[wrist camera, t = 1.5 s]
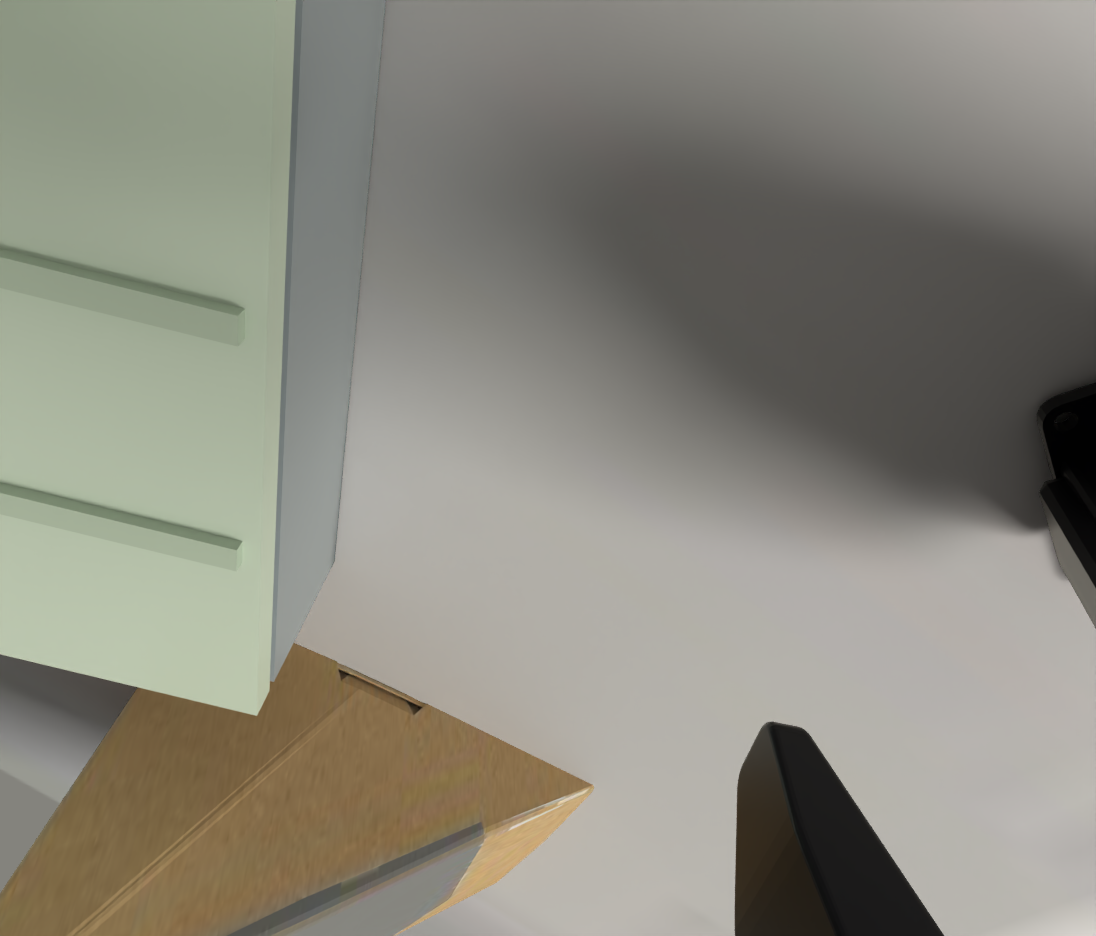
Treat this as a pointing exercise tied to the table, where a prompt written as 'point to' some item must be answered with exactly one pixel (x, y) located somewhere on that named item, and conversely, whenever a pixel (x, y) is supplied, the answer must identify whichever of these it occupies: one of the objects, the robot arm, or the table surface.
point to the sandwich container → (284, 816)
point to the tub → (321, 290)
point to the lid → (143, 337)
